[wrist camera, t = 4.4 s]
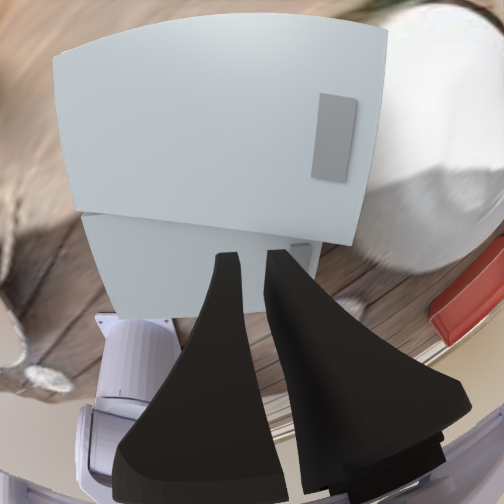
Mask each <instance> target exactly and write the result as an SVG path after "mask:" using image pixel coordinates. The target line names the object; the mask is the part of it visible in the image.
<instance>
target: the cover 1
mask: <svg viewBox="0 0 504 504" xmlns="http://www.w3.org/2000/svg"><path fill="white" fill-rule="evenodd" d="M387 36H388V30H386V29H383V28H379V27H375V26H370V25H366V24H361V23H356V22H351V21H346V20H340V19H334V18H327V17H319V16H310V15H299V14H284V13H233V14H218V15H207V16H198V17H190V18H183V19H177V20H171V21H165V22H160V23H155V24H151V25H146V26H142V27H138V28H134V29H130V30H126V31H123V32H119V33H116V34H113V35H109V36H106V37H103V38H100V39H97V40H94V41H92V42H89V43H86V44H83V45H81V46H78V47H76V48H73V49H71V50H68V51H66V52H64V53H61V54H59V55H57V56H55V57H53V79H54V93H55V104H56V113H57V121H58V128H59V135H60V141H61V147H62V152H63V158H64V163H65V167H66V172H67V177H68V181H69V185H70V189H71V193H72V197H73V201H74V205H75V208H76V211H84V212H94V213H103V214H113V215H122V216H131V217H140V218H148V219H157V220H165V221H174V222H182V223H190V224H198V225H206V226H214V227H221V228H229V229H236V230H244V231H251V232H259V233H266V234H273V235H280V236H287V237H294V238H301V239H308V240H314V241H321V242H328V243H334V244H341V245H347V246H352V243H353V239H354V235H355V232H356V228H357V224H358V220H359V216H360V212H361V208H362V204H363V199H364V195H365V191H366V186H367V182H368V177H369V172H370V167H371V162H372V157H373V152H374V146H375V141H376V135H377V129H378V122H379V116H380V109H381V101H382V93H383V85H384V75H385V65H386V52H387Z"/></svg>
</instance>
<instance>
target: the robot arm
mask: <svg viewBox="0 0 504 504" xmlns="http://www.w3.org/2000/svg"><path fill="white" fill-rule="evenodd" d="M263 296H264V302H265V308H266V314H267V319H268V323H269V326H270V330H271V333H272V336H273V340H274V343H275V346H276V350H277V353H278V356H279V359H280V363H281V366H282V369H283V372H284V376H285V380H286V384H287V389H288V394H289V400H290V405H291V410H292V416H293V422H294V428H295V435H296V441H297V448H298V455H299V464H300V472H301V482H302V488H303V492H304V495H306V494H311V493H315V492H319V491H323V490H327V489H329V493H330V497H326V498H323V499H319V500H315V501H311V502H307V503H303V504H370V503H372V502H374V501H377V500H380V499H382V498H384V497H386V496H389V495H390V496H389V497H387V498H385V499H383V500H382V501H380V502H378V503H377V504H496V503H497V502H498V500H499V499H500V497H501V496H502V494H503V493H504V404H503V405H501V406H500V407H498V408H497V409H495V410H494V411H493V412H491V413H490V414H489V415H487V416H486V417H485V418H483V419H482V420H481V421H479V422H478V423H477V424H476V426H475V427H473V428H472V429H470V430H469V431H467V432H466V433H464V434H463V435H461V436H460V437H458V438H457V439H455V440H454V441H452V442H451V443H449V444H448V445H446V446H444V447H443V448H442V447H441V445H440V442H442V441H444V436H443V433H442V430H444V429H445V428H447V427H448V426H450V425H452V424H453V423H454V422H456V421H457V420H459V419H460V418H462V417H463V416H464V415H466V414H467V413H468V412H469V411H471V408H472V405H471V403H470V401H469V398H468V396H467V394H466V392H465V390H464V388H463V386H462V384H461V382H460V381H458V380H456V379H454V378H451V377H449V376H447V375H445V374H442V373H440V372H438V371H436V370H434V369H431V368H429V367H428V366H426V365H424V364H422V363H420V362H418V361H417V360H415V359H413V358H411V357H409V356H408V355H406V354H404V353H403V352H401V351H399V350H398V349H396V348H395V347H393V346H392V345H390V344H389V343H387V342H386V341H384V340H383V339H381V338H380V337H378V336H377V335H376V334H374V333H373V332H372V331H370V330H369V329H368V328H366V327H365V326H364V325H363V324H361V323H360V322H359V321H357V320H356V319H355V318H354V317H353V316H351V315H350V314H349V313H348V312H347V311H345V310H344V309H343V308H342V307H341V306H340V305H339V304H338V303H337V302H336V301H335V300H333V299H332V298H331V297H330V296H329V295H328V294H327V293H326V292H325V291H324V290H323V289H322V288H321V287H320V286H319V285H318V284H317V283H316V282H315V281H314V279H313V278H312V277H311V276H310V275H309V274H308V273H307V272H306V271H305V270H304V269H303V268H302V267H301V265H300V264H299V263H298V262H297V261H296V260H295V259H294V258H293V257H292V256H291V254H290V253H289V252H288V251H287V250H286V249H276V250H267V259H266V269H265V280H264V290H263ZM95 320H96V322H97V324H98V326H99V327H100V329H101V331H102V333H103V335H104V336H105V338H106V342H105V347H104V352H103V358H102V363H101V369H100V375H99V381H98V387H97V394H96V398H95V403H94V408H93V409H92V405H89V404H86V405H85V406H83V407H82V408H80V411H79V417H78V425H77V433H76V446H75V464H76V480H77V481H78V482H79V486H80V488H81V489H82V490H83V491H84V492H85V493H86V494H87V495H88V496H90V497H91V498H92V499H93V500H94V501H96V502H97V503H98V504H275V503H281V502H286V501H289V497H288V492H287V488H286V483H285V478H284V473H283V471H282V467H281V464H280V461H279V458H278V455H277V451H276V448H275V445H274V441H273V438H272V435H271V431H270V428H269V424H268V421H267V417H266V414H265V410H264V406H263V402H262V398H261V394H260V390H259V387H258V383H257V379H256V374H255V370H254V366H253V361H252V357H251V352H250V348H249V343H248V338H247V333H246V328H245V322H244V312H243V294H242V276H241V264H240V260H239V256H238V253H237V252H222V253H218V254H216V255H215V264H214V270H213V274H212V278H211V282H210V285H209V288H208V291H207V294H206V297H205V300H204V303H203V306H202V308H201V310H200V313H199V315H198V318H197V320H196V323H195V325H194V327H193V329H192V332H191V334H190V336H189V338H188V340H187V342H186V344H185V346H184V348H183V350H182V351H181V347H180V344H179V340H178V337H177V333H176V330H175V326H174V323H173V319H172V318H164V319H134V320H119V318H118V316H117V314H116V313H98V314H96V315H95ZM417 481H419V483H418V485H416V486H413V487H410V488H407V489H405V490H401V489H403V488H405V487H407V486H409V485H411V484H413V483H415V482H417ZM399 490H401V491H399ZM397 491H399V492H397ZM395 492H396V493H395ZM393 493H394V494H393ZM391 494H392V495H391ZM0 504H95V503H90V502H87V501H83V500H79V499H76V498H72V497H69V496H66V495H62V494H59V493H56V492H53V491H52V490H51V489H48V488H46V487H43V486H40V485H38V484H35V483H33V482H30V481H28V480H25V479H23V478H20V477H16V476H14V475H11V474H9V473H7V472H5V471H3V470H1V469H0Z"/></svg>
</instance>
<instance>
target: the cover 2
mask: <svg viewBox="0 0 504 504" xmlns="http://www.w3.org/2000/svg"><path fill="white" fill-rule="evenodd" d="M81 219H82V222H83V226H84V229H85V232H86V235H87V238H88V241H89V244H90V247H91V250H92V253H93V256H94V259H95V262H96V265H97V267H98V270H99V273H100V275H101V278H102V281H103V283H104V286H105V288H106V291H107V293H108V295H109V298H110V300H111V303H112V305H113V307H114V309H115V312H116V314H117V316H118V318H119V320H134V319H164V318H185V317H198V315H199V313H200V310H201V308H202V306H203V303H204V300H205V297H206V294H207V291H208V288H209V285H210V282H211V278H212V274H213V270H214V264H215V255H216V254H218V253H222V252H237V253H238V256H239V260H240V264H241V276H242V294H243V312H244V313H252V312H263V311H266V308H265V302H264V296H263V290H264V280H265V269H266V259H267V250H276V249H286V250H287V251H288V252H289V253H290V254H291V256H292V257H293V258H294V259H295V260H296V261H297V262H298V263H299V264H300V265H301V267H302V268H303V269H304V270H305V271H306V272H307V273H308V274H309V275H310V276H311V277H312V278H313V279H315V275H316V271H317V266H318V262H319V257H320V253H321V248H322V243H323V242H321V241H314V240H308V239H301V238H294V237H287V236H280V235H273V234H266V233H259V232H251V231H244V230H236V229H229V228H221V227H214V226H206V225H198V224H190V223H182V222H174V221H165V220H157V219H148V218H140V217H131V216H122V215H113V214H103V213H94V212H84V213H83V215H82V216H81Z"/></svg>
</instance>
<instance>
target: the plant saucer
mask: <svg viewBox="0 0 504 504" xmlns="http://www.w3.org/2000/svg"><path fill="white" fill-rule="evenodd" d="M503 299H504V236H500V237H498V238H496V239H495V240H494V241H493V243H492V244H491V245H490V246H489V247H488V248H487V249H486V250H485V251H484V252H483V253H482V255H481V256H480V257H479V258H478V259H477V260H476V261H475V262H474V263H473V264H472V265H471V266H470V267H469V268H468V269H467V270H466V271H465V272H464V273H463V274H462V275H461V276H460V277H459V278H457V279H456V280H455V281H454V282H453V283H452V284H451V285H450V286H449V287H448V288H447V289H445V290H444V291H443V292H442V293H441V294H440V295H439V296H438V297H436V298H435V299H434V300H433V301H432V304H431V308H430V313H429V323H430V324H431V326H432V327H433V328H434V330H435V331H436V332H437V334H438V335H439V336H440V338H441V339H442V340H443V342H444V343H445V345H446V346H447V347H450V346H452V345H453V344H454V343H455V342H457V341H458V340H459V339H460V338H462V337H463V336H464V335H465V334H466V333H467V332H469V331H470V330H471V329H472V328H473V327H474V326H476V325H477V324H478V323H479V322H480V321H481V320H482V319H483V318H484V317H485V316H487V315H488V314H489V313H490V312H491V311H492V310H493V309H494V308H495V307H496V306H497V305H498V304H499V303H500V302H501V301H502V300H503Z"/></svg>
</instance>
